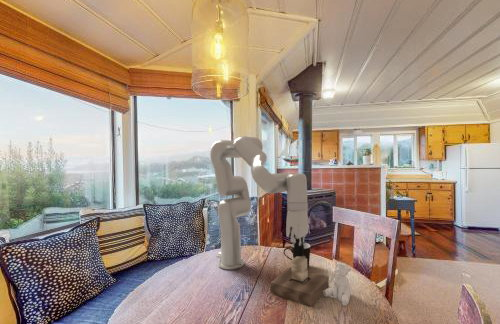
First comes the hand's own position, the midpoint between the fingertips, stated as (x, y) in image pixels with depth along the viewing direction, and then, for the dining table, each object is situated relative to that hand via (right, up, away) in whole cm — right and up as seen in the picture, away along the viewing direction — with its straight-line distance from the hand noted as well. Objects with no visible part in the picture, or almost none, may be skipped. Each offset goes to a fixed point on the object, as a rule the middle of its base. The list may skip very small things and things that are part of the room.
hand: (299, 255), depth 93 cm
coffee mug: (+4, -14, +21) cm, 25 cm away
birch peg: (0, -13, 0) cm, 13 cm away
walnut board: (0, -13, 0) cm, 13 cm away
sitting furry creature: (+13, -13, -6) cm, 19 cm away
